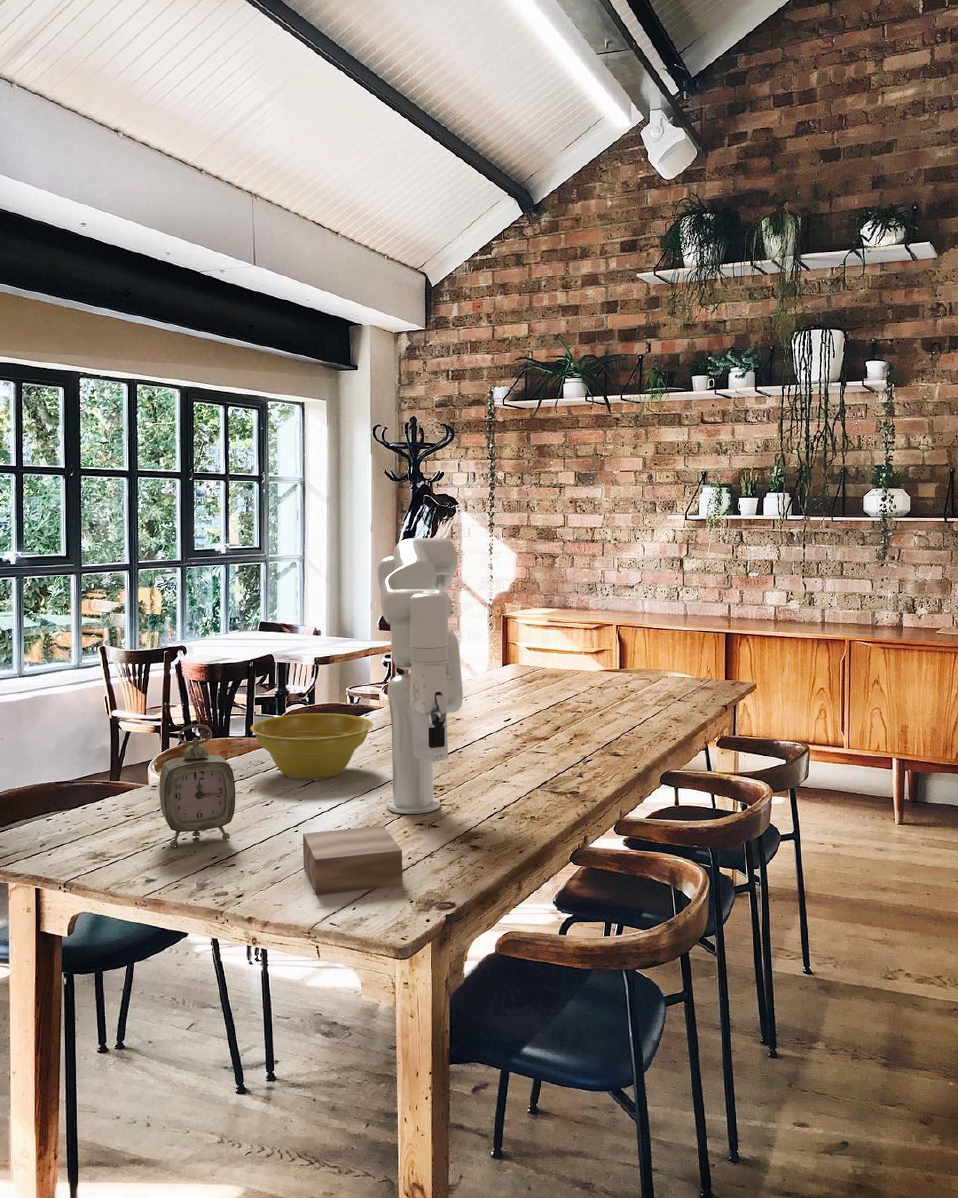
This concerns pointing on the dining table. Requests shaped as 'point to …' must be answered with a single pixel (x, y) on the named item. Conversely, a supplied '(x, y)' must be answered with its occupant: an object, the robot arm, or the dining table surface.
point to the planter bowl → (311, 742)
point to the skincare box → (426, 737)
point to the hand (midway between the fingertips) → (429, 742)
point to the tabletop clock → (197, 790)
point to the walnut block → (352, 860)
